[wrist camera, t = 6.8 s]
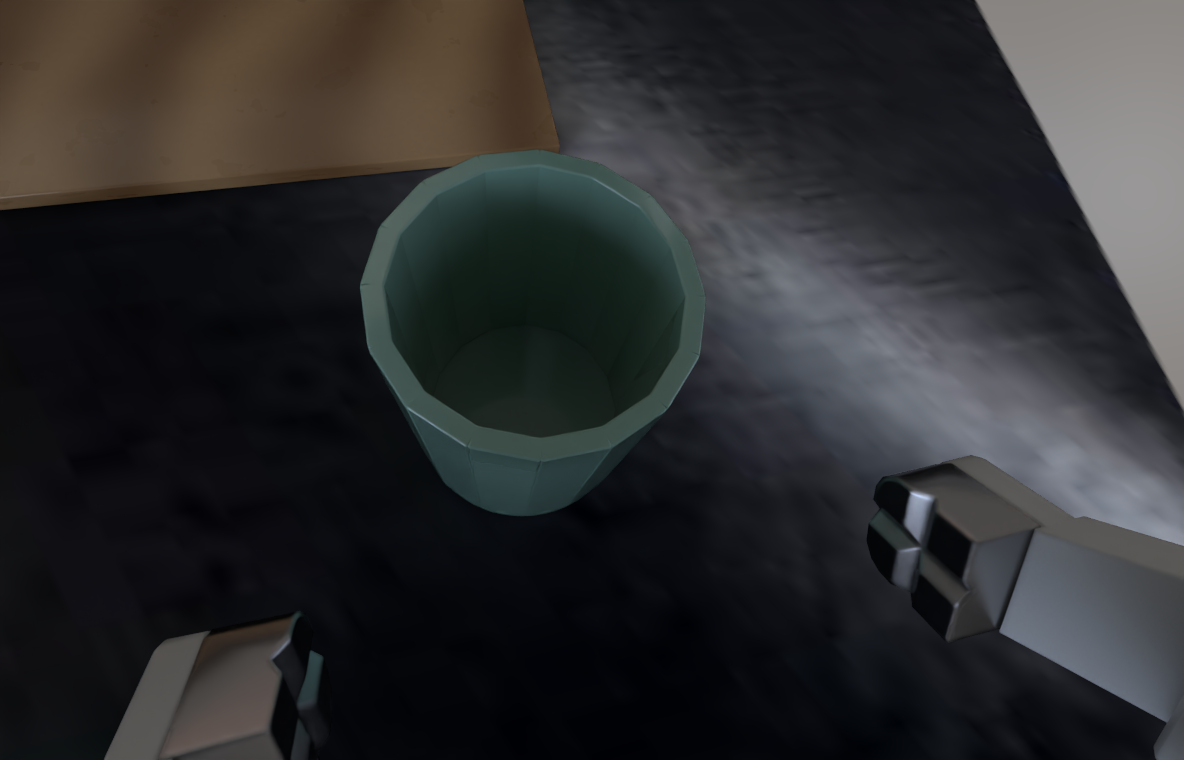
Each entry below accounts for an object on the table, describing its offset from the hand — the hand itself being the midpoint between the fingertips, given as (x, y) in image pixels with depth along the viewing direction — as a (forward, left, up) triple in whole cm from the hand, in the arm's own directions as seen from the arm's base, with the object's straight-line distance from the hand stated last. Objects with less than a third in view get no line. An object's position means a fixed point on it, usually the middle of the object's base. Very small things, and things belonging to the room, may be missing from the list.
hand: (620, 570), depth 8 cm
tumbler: (0, +5, -9) cm, 10 cm away
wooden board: (-9, +21, -9) cm, 25 cm away
